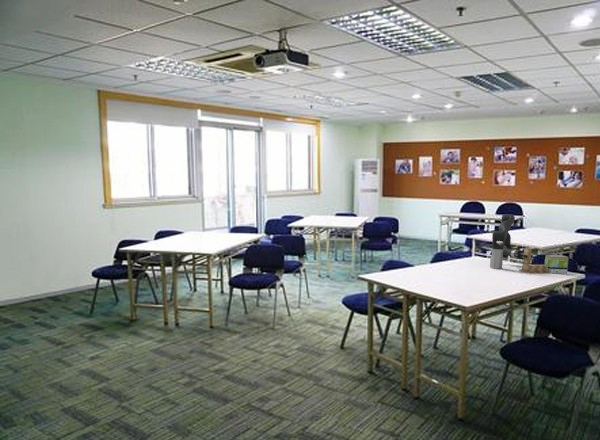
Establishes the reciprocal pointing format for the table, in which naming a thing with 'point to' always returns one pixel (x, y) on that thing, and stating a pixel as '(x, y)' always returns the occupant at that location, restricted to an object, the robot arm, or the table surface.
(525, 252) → the post
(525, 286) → the table surface
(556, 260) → the tea box
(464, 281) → the table surface
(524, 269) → the ridge board
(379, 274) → the table surface
